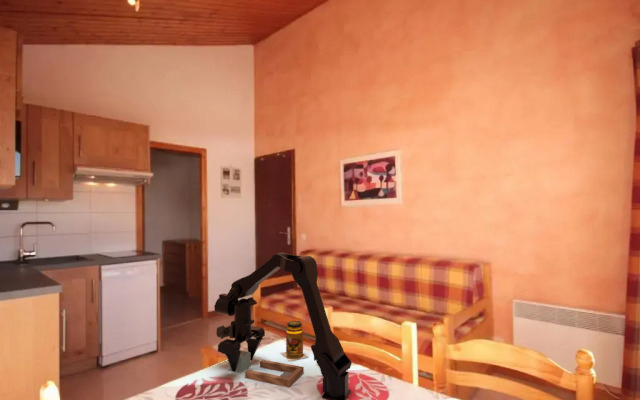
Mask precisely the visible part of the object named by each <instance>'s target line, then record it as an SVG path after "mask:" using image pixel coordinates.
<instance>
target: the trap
mask: <svg viewBox="0 0 640 400" xmlns="http://www.w3.org/2000/svg"><path fill="white" fill-rule="evenodd" d="M291 373H292V372H286V371H285V372H282V373H281V374H280V375H279V376H283V377H288V376H289V375H290V374H291Z"/></svg>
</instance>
